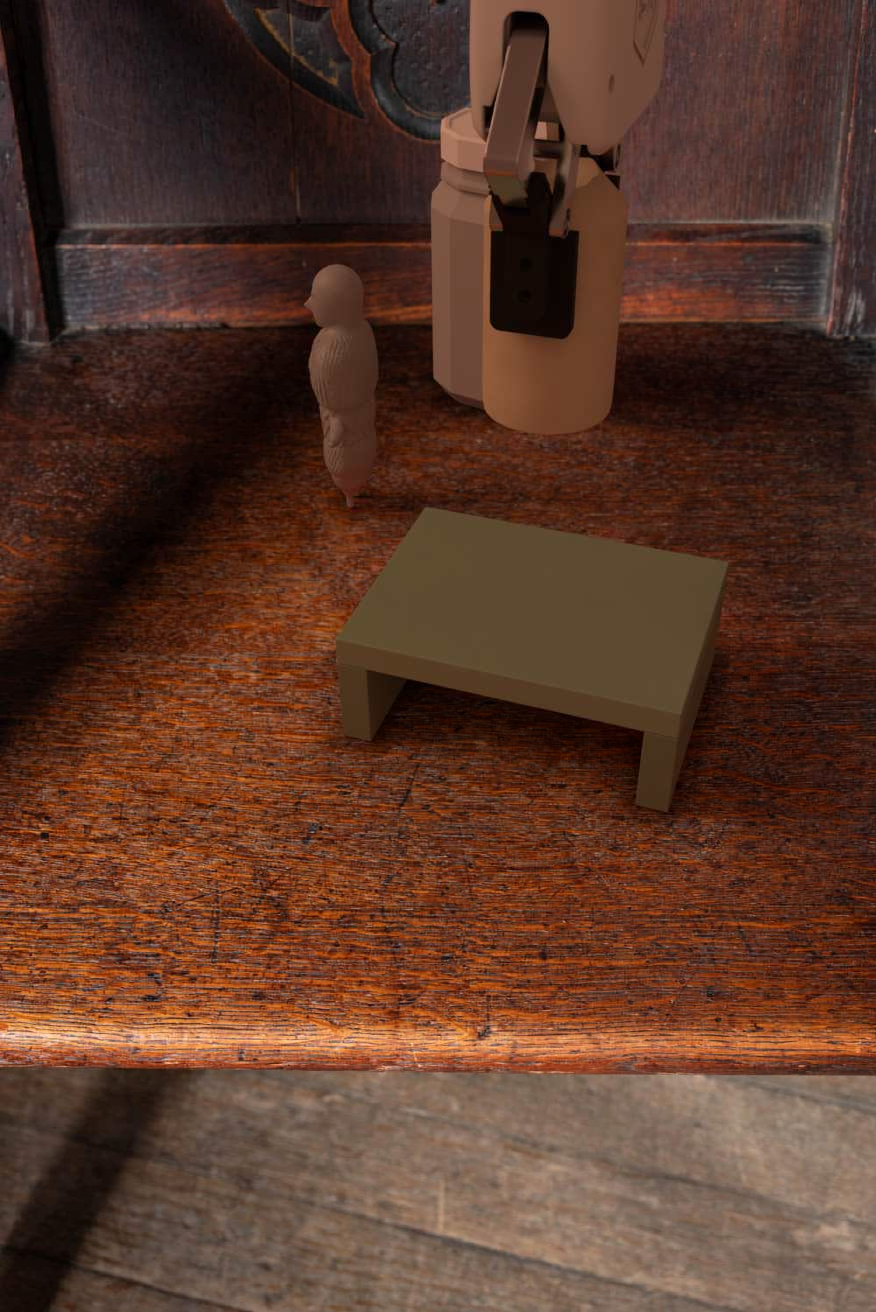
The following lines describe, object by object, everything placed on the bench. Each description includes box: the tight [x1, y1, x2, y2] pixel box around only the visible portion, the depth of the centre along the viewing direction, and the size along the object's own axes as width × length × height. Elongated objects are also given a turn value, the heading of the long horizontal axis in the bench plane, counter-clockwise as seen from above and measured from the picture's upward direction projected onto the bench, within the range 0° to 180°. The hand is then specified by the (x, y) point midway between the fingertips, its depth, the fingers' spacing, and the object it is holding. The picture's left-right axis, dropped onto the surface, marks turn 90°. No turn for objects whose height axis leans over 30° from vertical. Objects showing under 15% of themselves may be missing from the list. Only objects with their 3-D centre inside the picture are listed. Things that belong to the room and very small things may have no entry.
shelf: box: [335, 506, 730, 813], centre depth 62 cm, size 16×12×6 cm
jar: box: [430, 107, 547, 411], centre depth 84 cm, size 10×10×18 cm
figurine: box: [303, 263, 379, 509], centre depth 73 cm, size 9×4×15 cm, turn 168°
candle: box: [482, 157, 629, 436], centre depth 50 cm, size 6×6×10 cm
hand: (553, 295), depth 50 cm, fingers closed on candle, 5 cm apart
